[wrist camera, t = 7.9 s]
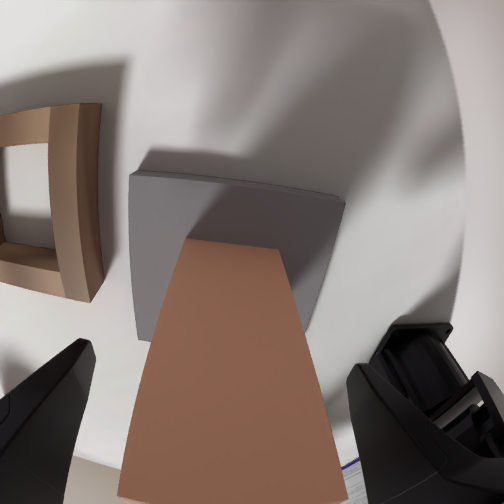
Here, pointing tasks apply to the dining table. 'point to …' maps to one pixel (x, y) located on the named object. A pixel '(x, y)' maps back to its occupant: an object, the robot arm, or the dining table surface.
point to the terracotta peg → (230, 391)
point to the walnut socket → (60, 202)
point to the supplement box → (354, 483)
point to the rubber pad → (225, 232)
